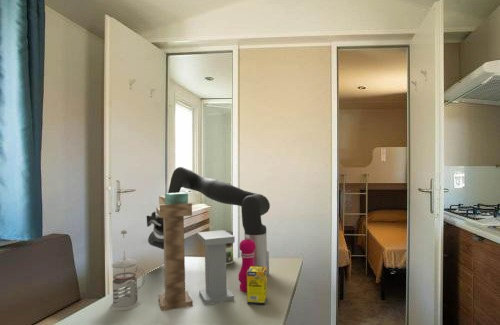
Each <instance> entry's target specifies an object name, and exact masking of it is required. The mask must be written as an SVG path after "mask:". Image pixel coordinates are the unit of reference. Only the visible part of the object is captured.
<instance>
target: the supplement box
mask: <svg viewBox="0 0 500 325" xmlns="http://www.w3.org/2000/svg"><path fill="white" fill-rule="evenodd" d="M246 295H247V296H246V297H247V299H246V300H247V302H246V303H247V305H257V306H258V305H259V306H265V305H266V301H267V300H268V275H267V267H256V266H251V267H250V268H249V269H248V271H247V292H246Z"/></svg>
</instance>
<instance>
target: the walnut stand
mask: <svg viewBox="0 0 500 325" xmlns="http://www.w3.org/2000/svg"><path fill="white" fill-rule="evenodd" d="M192 204H193V203H192V202H188V203H178V204H161V205H160V204H159V206H156V208H155V209H156V211H155V212H156V215H158V216H159V217H160V218H163V228H164V249H163V260H164V261H163V264H164V265H163V266H164V270H163V271H164V294H159V295H158V302H159V303H158V304H159V306H160V310H161V311H169V309H170V310H175V309H180V308H181V309H182V308H187V307H188V308H189V307H193V304H194V301H193V299H192V298H191V295H190V293H189V291H188V290H186V267H185V266H186V265H185V263H186V262H185V220H184V219H185V217H190V216H193V205H192Z"/></svg>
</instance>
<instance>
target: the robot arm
mask: <svg viewBox="0 0 500 325" xmlns="http://www.w3.org/2000/svg"><path fill="white" fill-rule="evenodd" d="M171 174H172V175H171V178H170V183H169V187H168V192H167V193H180V191H181V189H182V188H183V189H187V190H192V191H195V192H199V193H201V195H202V194H203V196H205V197H206V198H208V199H210V200H212V201H215V202H218V203H221V204H225V205H231V206H232V205H234V206H238V207H240V208H241V210H240V211H241V222H242V227H243V230H244V237H245V236H246V235H249V237H250V238H249V239H251V240H253V241H254V243H255V246H256V247H255V250H254V251H253V252H254V257H253V263H254V266H256V267H267V276H268V275H269V276H270V253H269V252H270V251H268V243H267V241H268V240H267V239H268V237H267V226H266V225H265V224H263V222H262V216H264V215H265V214H267V213H268V212H269V210H270V207H271V203H270V201H269V199H268V198H267V197H266V196H265V195H263V194H261V193H255V192H252V191H248V190H244V189H243V188H242V189H241V188H239V187H238V186H234V185H232V184H230V183H227V182H224V181H221V180H220V179H215V178H209V177H204V176H202V175H200V174H198V173H197V172H195V171H193V170H192V169H191V170H190V169H188V168H186V167H184V166H179V167H176V168H175V169H174V171H173V172H172V173H171ZM152 225H153V230H152V231H151V232H150V234H149V236H148V239H147V243H148V244H149V245H150V246H152V247H155V248H158V249H161V250H164V228H163V218H160V217H159V215H158V214H157V212H156V211H153V212H152V213H151V215H146V227H151V226H152Z"/></svg>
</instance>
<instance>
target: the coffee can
mask: <svg viewBox="0 0 500 325" xmlns="http://www.w3.org/2000/svg"><path fill="white" fill-rule="evenodd" d="M225 231H226V232H228V233H229V234H231V235H233V234H234V232H233V231H232V230H225ZM233 236H234V235H233ZM233 263H234V243H226V266H227V265H230V264H233Z"/></svg>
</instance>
